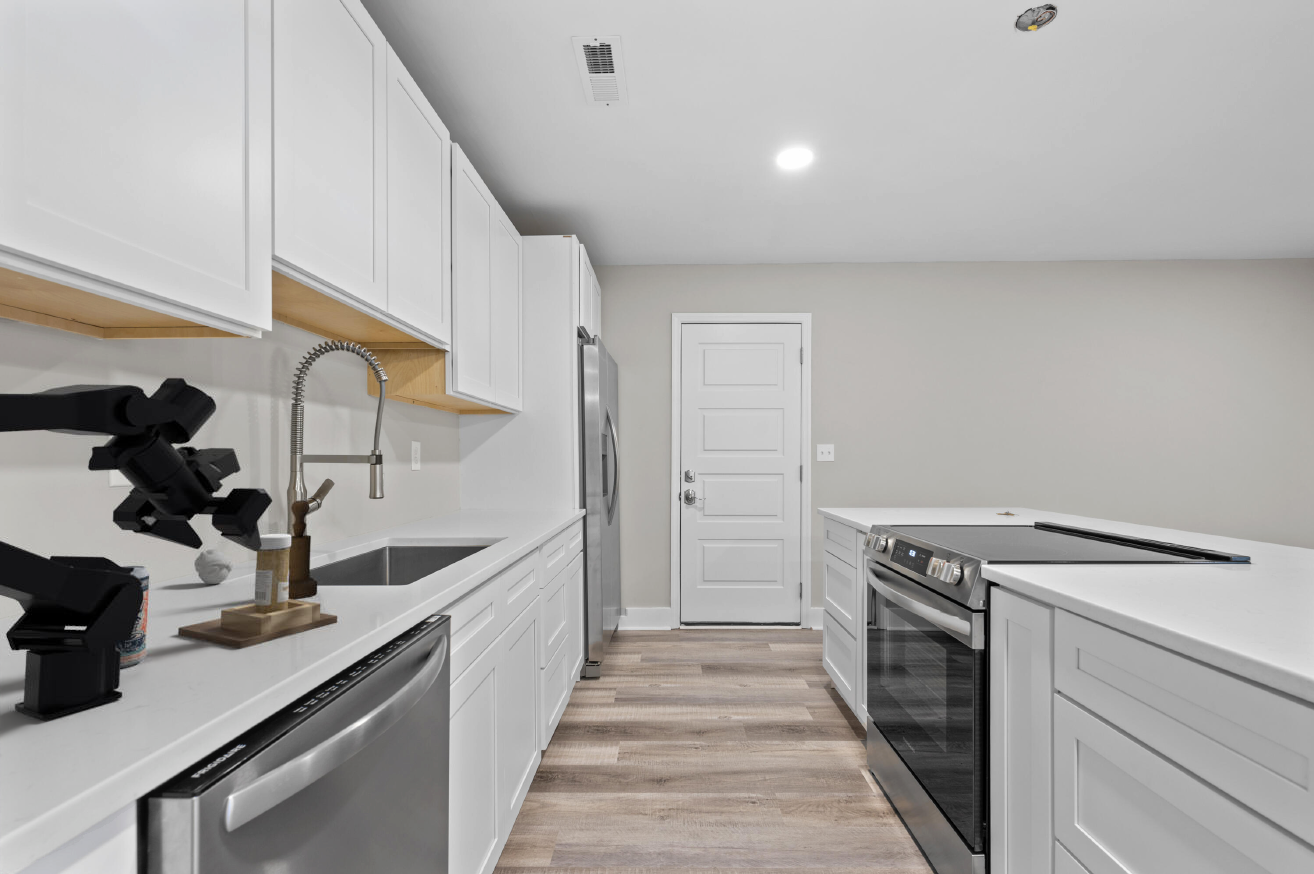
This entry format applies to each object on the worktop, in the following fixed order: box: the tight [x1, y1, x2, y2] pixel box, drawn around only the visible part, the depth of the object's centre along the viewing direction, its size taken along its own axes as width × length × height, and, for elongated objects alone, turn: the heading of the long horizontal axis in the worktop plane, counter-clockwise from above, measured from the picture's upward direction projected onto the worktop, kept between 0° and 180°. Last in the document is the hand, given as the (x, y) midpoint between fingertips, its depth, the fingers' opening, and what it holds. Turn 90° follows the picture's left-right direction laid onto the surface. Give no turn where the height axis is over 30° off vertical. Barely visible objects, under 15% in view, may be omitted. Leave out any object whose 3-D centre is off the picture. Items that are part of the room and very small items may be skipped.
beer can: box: [116, 565, 150, 669], centre depth 76 cm, size 5×5×12 cm
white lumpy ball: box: [194, 548, 233, 585], centre depth 124 cm, size 6×7×7 cm
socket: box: [177, 599, 338, 649], centre depth 93 cm, size 15×14×4 cm
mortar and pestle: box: [288, 499, 318, 600], centre depth 115 cm, size 7×6×18 cm
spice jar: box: [254, 533, 292, 614], centre depth 92 cm, size 5×5×14 cm
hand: (229, 547), depth 85 cm, fingers open, 9 cm apart
